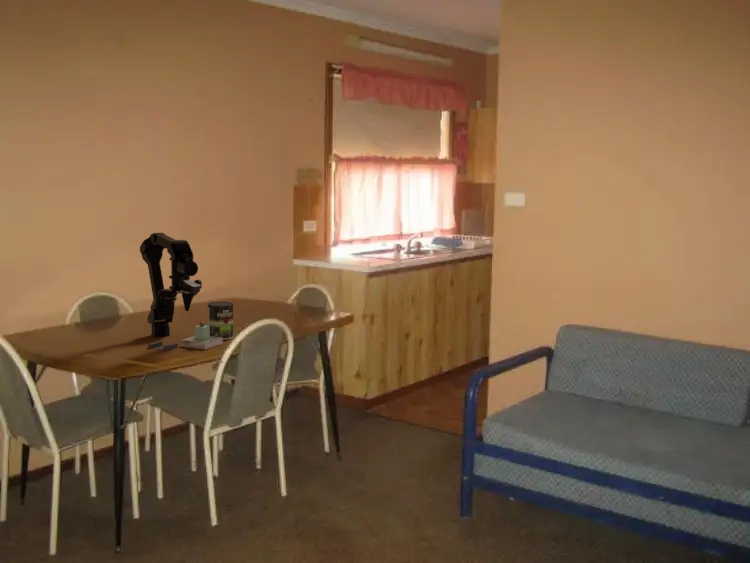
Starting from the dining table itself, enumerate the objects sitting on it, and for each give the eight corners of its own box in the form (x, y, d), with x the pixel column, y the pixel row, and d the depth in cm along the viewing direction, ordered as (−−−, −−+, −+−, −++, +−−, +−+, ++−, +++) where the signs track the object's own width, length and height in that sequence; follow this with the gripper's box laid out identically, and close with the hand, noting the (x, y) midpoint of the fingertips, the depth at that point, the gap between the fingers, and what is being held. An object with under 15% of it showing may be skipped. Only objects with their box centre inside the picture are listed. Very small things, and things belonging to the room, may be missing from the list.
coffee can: (237, 338, 332) (237, 304, 330) (214, 341, 326) (214, 306, 324) (226, 333, 340) (226, 300, 338) (203, 336, 334) (203, 302, 332)
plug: (194, 346, 314) (194, 322, 313) (201, 344, 318) (201, 320, 316) (203, 348, 312) (203, 323, 311) (209, 346, 316) (209, 322, 314)
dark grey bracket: (148, 350, 308) (148, 344, 308) (158, 347, 314) (158, 341, 313) (167, 353, 305) (167, 346, 304) (177, 350, 310) (177, 343, 310)
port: (181, 348, 312) (181, 339, 312) (199, 343, 322) (199, 334, 322) (205, 352, 308) (205, 343, 307) (222, 346, 318) (222, 337, 317)
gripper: (180, 277, 301) (181, 319, 303) (210, 271, 318) (211, 311, 320) (156, 275, 305) (157, 316, 308) (187, 269, 322) (188, 308, 325)
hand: (179, 313), depth 315 cm, fingers open, 9 cm apart
